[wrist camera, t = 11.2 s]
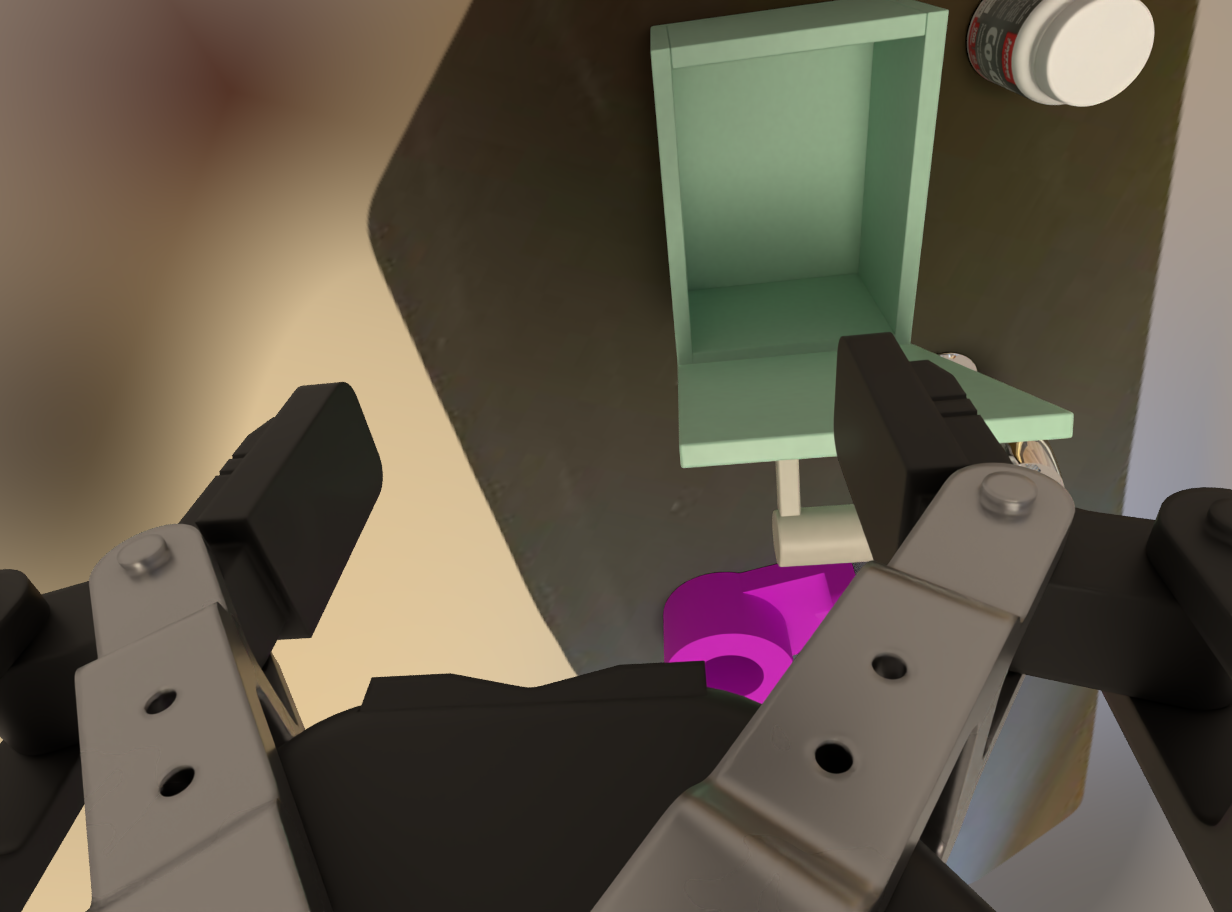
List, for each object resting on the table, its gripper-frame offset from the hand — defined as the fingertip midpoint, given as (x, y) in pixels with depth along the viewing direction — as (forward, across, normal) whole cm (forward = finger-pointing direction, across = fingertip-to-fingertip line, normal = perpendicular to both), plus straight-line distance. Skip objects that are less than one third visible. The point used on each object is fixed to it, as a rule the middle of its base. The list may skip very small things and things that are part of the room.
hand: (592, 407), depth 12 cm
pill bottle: (+32, -19, 0) cm, 37 cm away
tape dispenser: (+32, -6, +40) cm, 52 cm away
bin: (+32, -7, +5) cm, 33 cm away
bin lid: (+16, -7, +9) cm, 20 cm away
